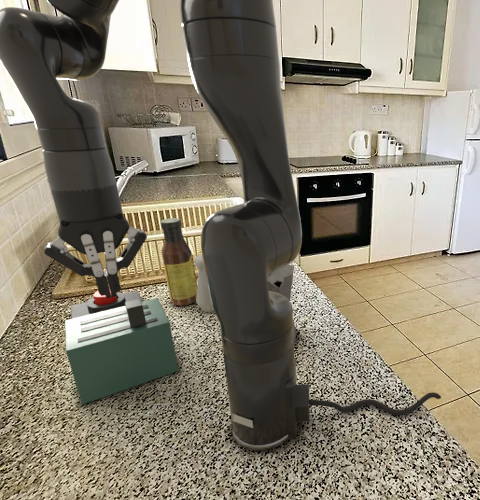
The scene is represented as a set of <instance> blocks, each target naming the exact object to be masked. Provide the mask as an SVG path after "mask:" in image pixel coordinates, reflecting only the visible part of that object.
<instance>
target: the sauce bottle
mask: <svg viewBox="0 0 480 500" xmlns="http://www.w3.org/2000/svg"><path fill="white" fill-rule="evenodd" d="M160 227H161V229H162V233H163V239H164V241H163V245H162V248H161V256H162V257H161V258H162V261H163V262H162V263H163V269H164V274H165V275H164V276H165V279H166V284H167V289H168V294H169V298H170V301H171V303H172V304H173V305H174V306H179V307H180V306H181V307H183V306H188V305H191V304H193V303H196V297H197V285H198V280H197V275H196V270H195V262H194V258H193V253H192V250H191V248H190V247H189V245H188V243H187V241H186V240H185V238H184V235H183V231H182V220H181V219H180V218H178V217H171V218H164V219H161V220H160Z"/></svg>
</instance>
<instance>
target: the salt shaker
mask: <svg viewBox="0 0 480 500" xmlns="http://www.w3.org/2000/svg"><path fill="white" fill-rule="evenodd" d="M194 267H196V268H197V269H198V272H197V297H196V301H195V303H196V304H197V305H198V306H199V308H200V309H201V311H202V312H205V313H213V312H214V309H213V307H212V304H211V299H210V294H209V288H208V283H207V278H206V273H205V268H204V263H203V257H202V253H200V254H198V255H196V256H195V258H194Z"/></svg>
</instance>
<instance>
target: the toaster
mask: <svg viewBox="0 0 480 500" xmlns="http://www.w3.org/2000/svg"><path fill="white" fill-rule="evenodd" d="M141 303H142V305H143V310H144V314H145V319H146V324H144V325H140V326H137V327H133V328H131V326H130V323H129V319H128V315H127V310H126V306H122V307H118V308H114V309H110V310H106V311H102V312H98V313H94V314H90V315H85V316H81V317H77V318H73V319H71V318H70V319H65V320H64V331H65V332H64V333H65V334H64V335H65V336H64V337H65V353H66V356H67V360H68V363H69V366H70V370H71V373H72V376H73V379H74V382H75V386H76V389H77V392H78V395H79V398H80V402H81V405H86V404H89V403H91V402H94V401H96V400H101V399H102V398H105V397H108V396H111V395H114V394H118V393H119V392H123V391H125V390H128V389H130V388H134V387H137V386H140V385H142V384H144V383H148V382H152V381H154V380H156V379H159V378H162V377H165V376H167V375H171V374H173V373H176V372H178V371H179V366H178V361H177V356H176V351H175V350H176V349H175V344H174V339H173V338H174V337H173V334H172V328H171V323H170V320H169V318H168V316H167V314H166V312H165V309H164V307H163V306H162V303H161V302H160V299H159V298H158V297H156V298H152V299H147V300H142V302H141Z"/></svg>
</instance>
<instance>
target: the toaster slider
mask: <svg viewBox="0 0 480 500" xmlns="http://www.w3.org/2000/svg"><path fill="white" fill-rule="evenodd" d="M125 306H126V310H127V315H128V319H129V323H130V326H131V328H133V327H137V326H140V325H144V324H146V319H145V314H144V310H143V305H142V303H141V300H140V299H137V300H132V301H128V302H125Z"/></svg>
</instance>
